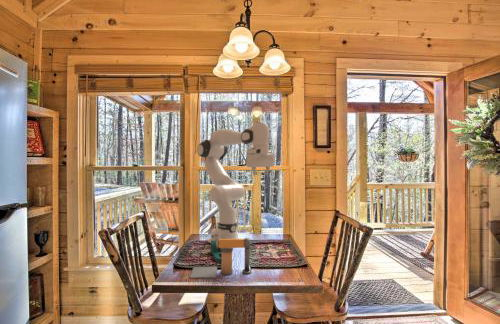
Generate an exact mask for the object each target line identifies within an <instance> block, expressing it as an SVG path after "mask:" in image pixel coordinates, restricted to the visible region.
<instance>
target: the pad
mask: <svg viewBox="0 0 500 324" xmlns="http://www.w3.org/2000/svg"><path fill="white" fill-rule="evenodd" d="M217 273H218V266H195V267H193V268H192V271H191V274H190V277H189V279H192V280H193V279H195V280H196V279H216V278H217Z"/></svg>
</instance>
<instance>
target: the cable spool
mask: <svg viewBox="0 0 500 324" xmlns="http://www.w3.org/2000/svg"><path fill="white" fill-rule="evenodd" d="M221 251H222V261H221V262H220V263H221V265H220V266H221V270H220V275H222V276H231V275H233V273H234V271H233V251H234V248H221ZM230 274H231V275H230Z"/></svg>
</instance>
